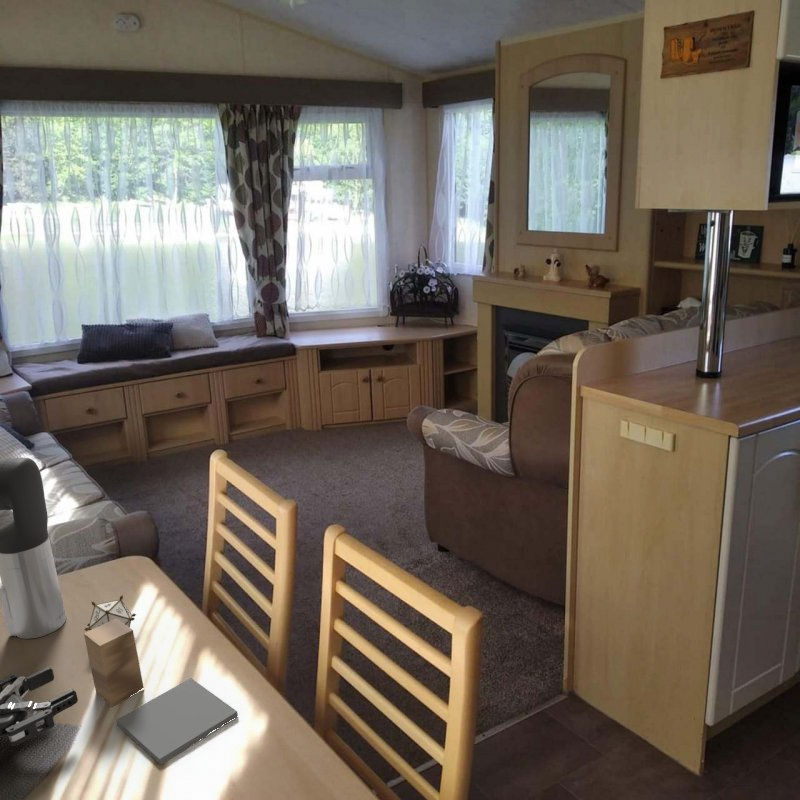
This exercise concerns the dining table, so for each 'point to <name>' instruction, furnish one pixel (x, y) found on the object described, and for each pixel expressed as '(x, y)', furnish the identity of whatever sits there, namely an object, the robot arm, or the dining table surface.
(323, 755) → the dining table surface
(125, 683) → the walnut block
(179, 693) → the rubber mat
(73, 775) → the dining table surface
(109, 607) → the game die
